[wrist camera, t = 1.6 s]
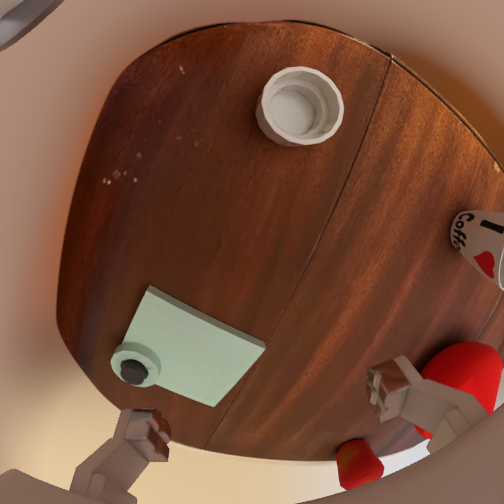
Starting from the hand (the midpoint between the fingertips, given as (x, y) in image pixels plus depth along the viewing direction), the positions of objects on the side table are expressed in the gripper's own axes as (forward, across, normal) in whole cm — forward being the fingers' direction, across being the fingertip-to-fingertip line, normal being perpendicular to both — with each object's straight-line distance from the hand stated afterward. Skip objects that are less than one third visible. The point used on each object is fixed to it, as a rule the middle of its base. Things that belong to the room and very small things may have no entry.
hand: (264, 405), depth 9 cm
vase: (+18, -29, +29) cm, 45 cm away
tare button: (+15, +15, +10) cm, 24 cm away
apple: (+18, -12, +45) cm, 50 cm away
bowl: (+18, -7, -12) cm, 22 cm away
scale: (+18, +9, +11) cm, 23 cm away
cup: (+18, -28, +4) cm, 34 cm away
